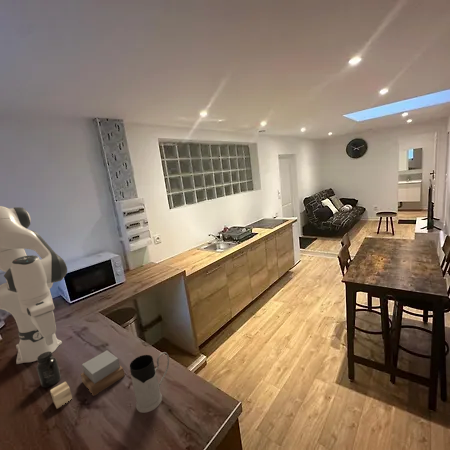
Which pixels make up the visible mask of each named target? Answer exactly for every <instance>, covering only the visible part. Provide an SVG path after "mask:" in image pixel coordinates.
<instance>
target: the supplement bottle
mask: <svg viewBox="0 0 450 450" xmlns="http://www.w3.org/2000/svg"><path fill="white" fill-rule="evenodd" d="M37 359H38V360H37V365H36V372H37V375H38V378H39V382H40V385H41V387H42V388H50V387H52V386H53V385H55V384H57V383H58V382H60V380H61V378H62V375H61V371H60V367H59V363H58V360H57V358H56V357H54V356H53V352H52V353H51V352H45V353H43V354H41V355H39V356H38V358H37Z"/></svg>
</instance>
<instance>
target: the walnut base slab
mask: <svg viewBox="0 0 450 450" xmlns="http://www.w3.org/2000/svg"><path fill="white" fill-rule="evenodd" d="M125 376H126V375H125V370H124V367H122V365H120V368H119V369H117V370H115V371H114V372H112V373H111V374H109V375H108V376H106V377H105V378H103V379H101V380H100V381H98V382H97V383H95V384H94V383H93V382H92V381H91V380H90V379H89V378H88V377H87V376H86V375H85V374H84V371H83V372H82V373H80V379H81V381H82V383H83V385H84V386H85V388H86V389H87V388H88V389H89V390H88V389H87V390H88V391H89V392H90V394H91V393H92V394H91V395H92V396H93V397H95V396H96V395H98V394H99V392H100V393H101V392H103V391H104V390H106V389H107V388H109V387H110V386H112V385H114V384H115V383H117V381H120V380H121V379H122V378H124V377H125ZM94 395H95V396H94Z"/></svg>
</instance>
